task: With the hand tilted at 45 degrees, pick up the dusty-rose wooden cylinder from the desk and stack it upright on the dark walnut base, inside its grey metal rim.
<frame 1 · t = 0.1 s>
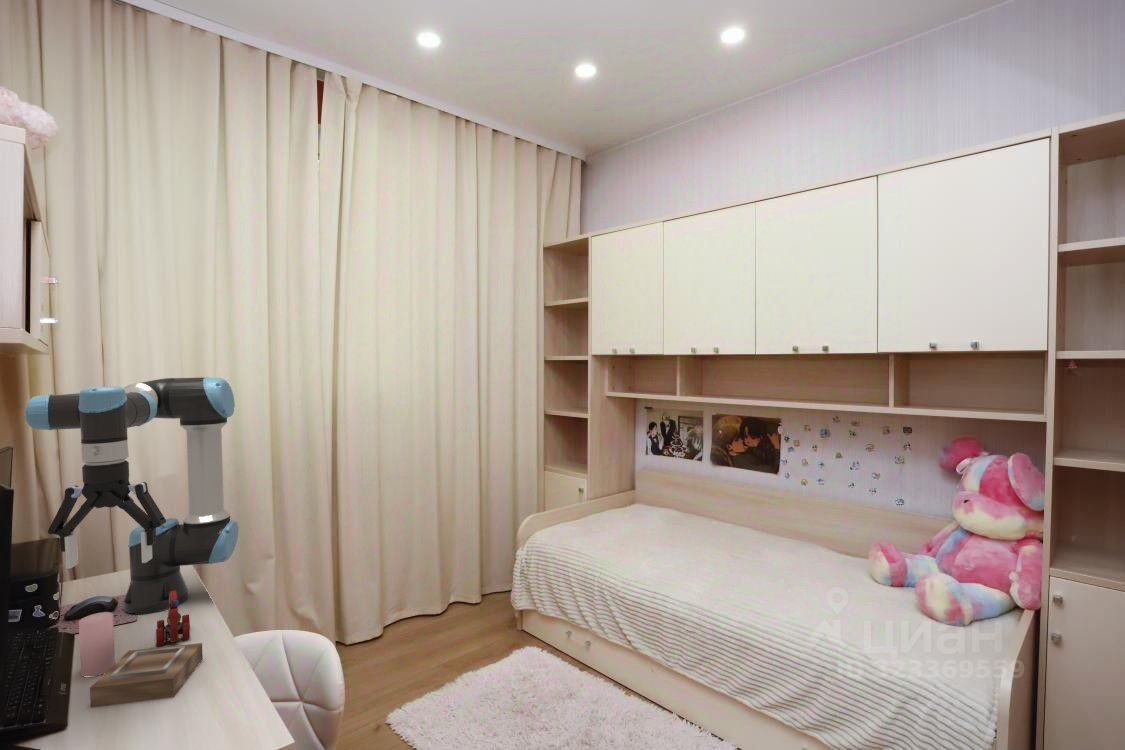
hand: (110, 563, 119), 28 cm above the table, tool pointing down, fingers open, 13 cm apart
toy fire truck: (173, 638, 145), on the table
walnut base: (150, 681, 125), on the table
rose cylinder: (98, 670, 130), on the table
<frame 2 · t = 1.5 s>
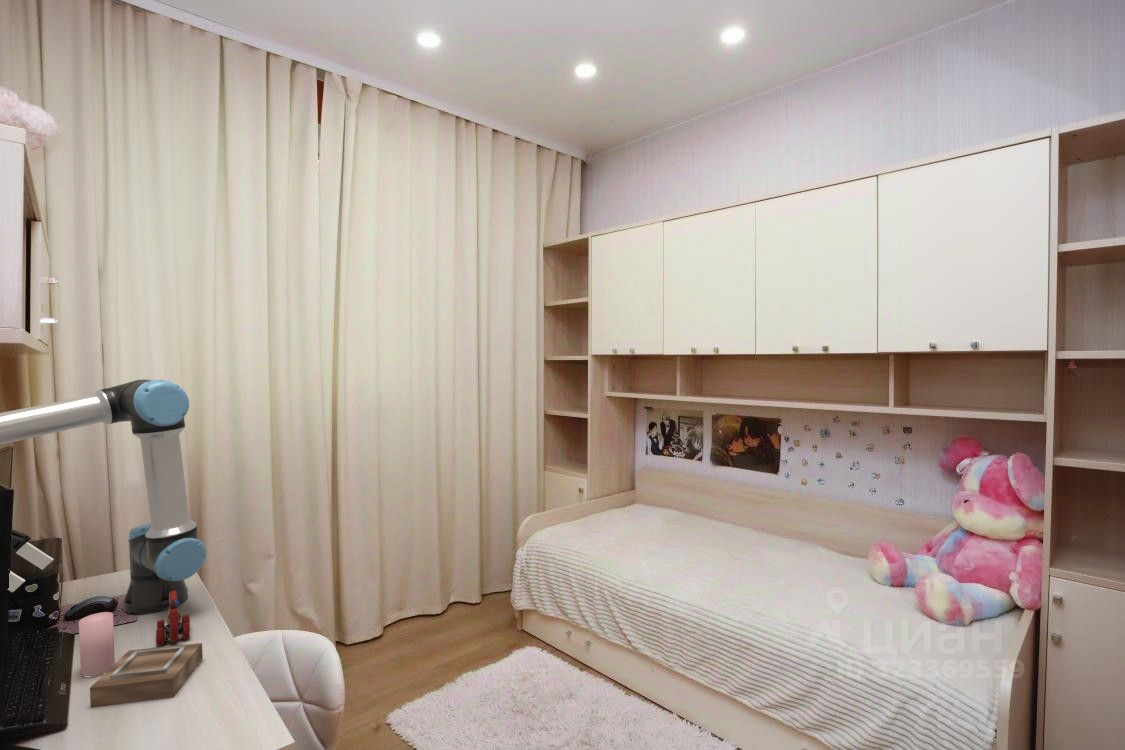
hand: (34, 575, 125), 23 cm above the table, tool tilted 45°, fingers open, 13 cm apart
nothing on the table moved.
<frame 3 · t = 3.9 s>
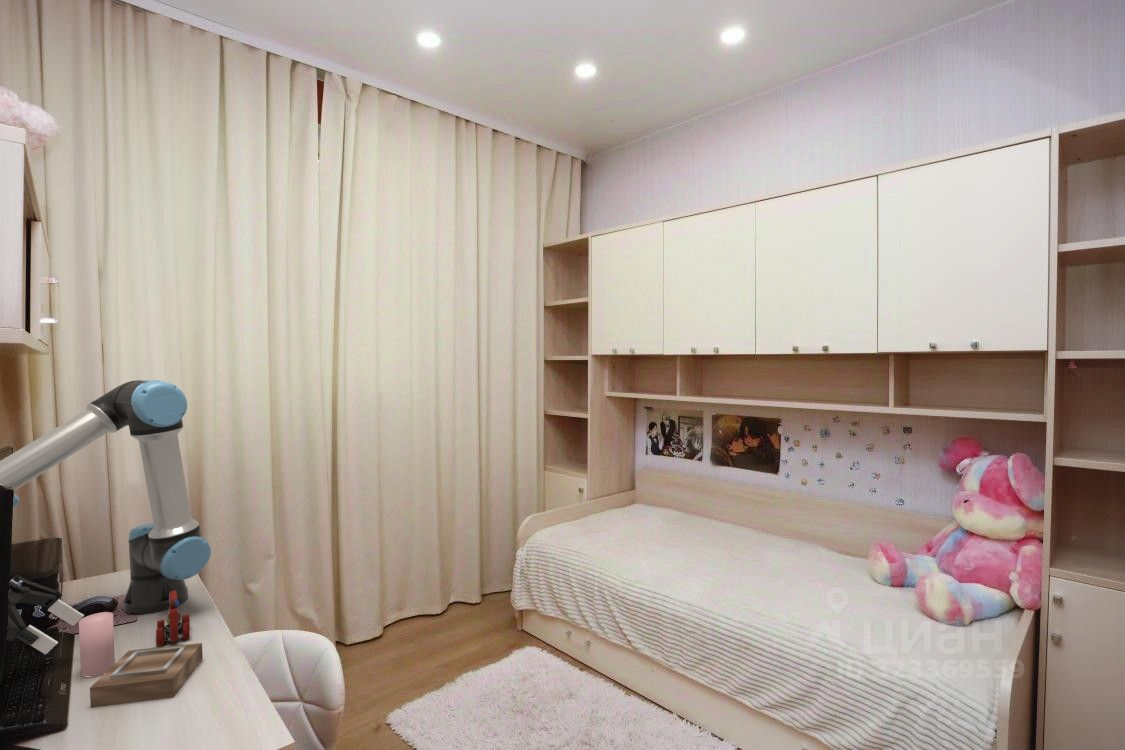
hand: (66, 634, 127), 10 cm above the table, tool tilted 45°, fingers open, 13 cm apart
nothing on the table moved.
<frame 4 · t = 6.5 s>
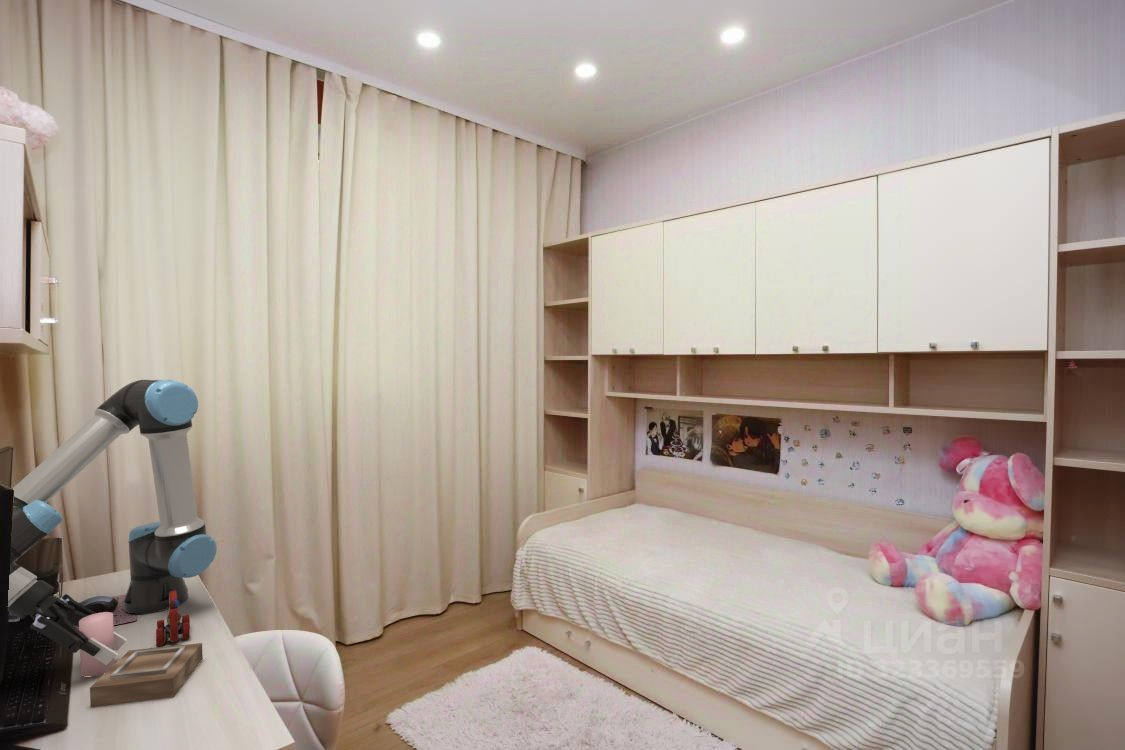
hand: (117, 652, 131), 3 cm above the table, tool tilted 45°, fingers closed on rose cylinder, 6 cm apart
rose cylinder: (98, 670, 130), on the table, touching gripper
everything else where it was.
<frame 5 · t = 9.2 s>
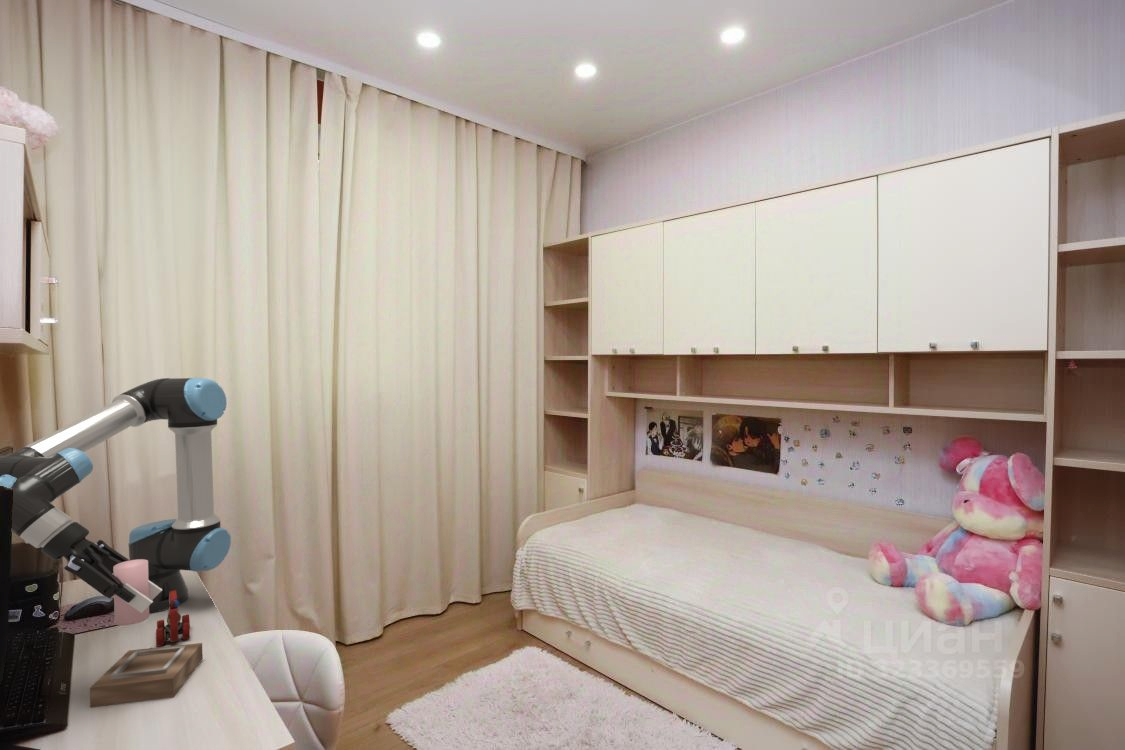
hand: (152, 600, 125), 17 cm above the table, tool tilted 45°, fingers closed on rose cylinder, 6 cm apart
rose cylinder: (132, 619, 124), point 14 cm above the table, touching gripper
everything else where it was.
when the fingers open (9 cm above the table, at t = 12.0 s): rose cylinder drops 2 cm, resting on walnut base.
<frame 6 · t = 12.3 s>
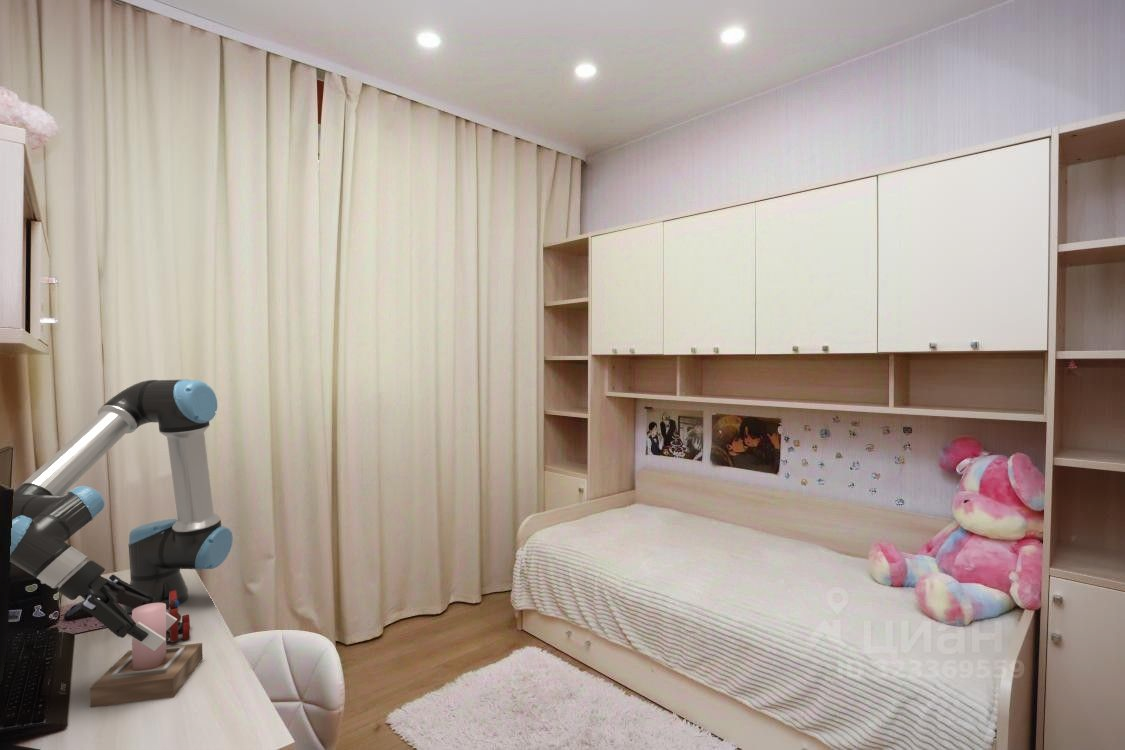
hand: (166, 634, 126), 10 cm above the table, tool tilted 45°, fingers open, 9 cm apart
rose cylinder: (149, 663, 125), point 4 cm above the table, touching walnut base
everything else where it was.
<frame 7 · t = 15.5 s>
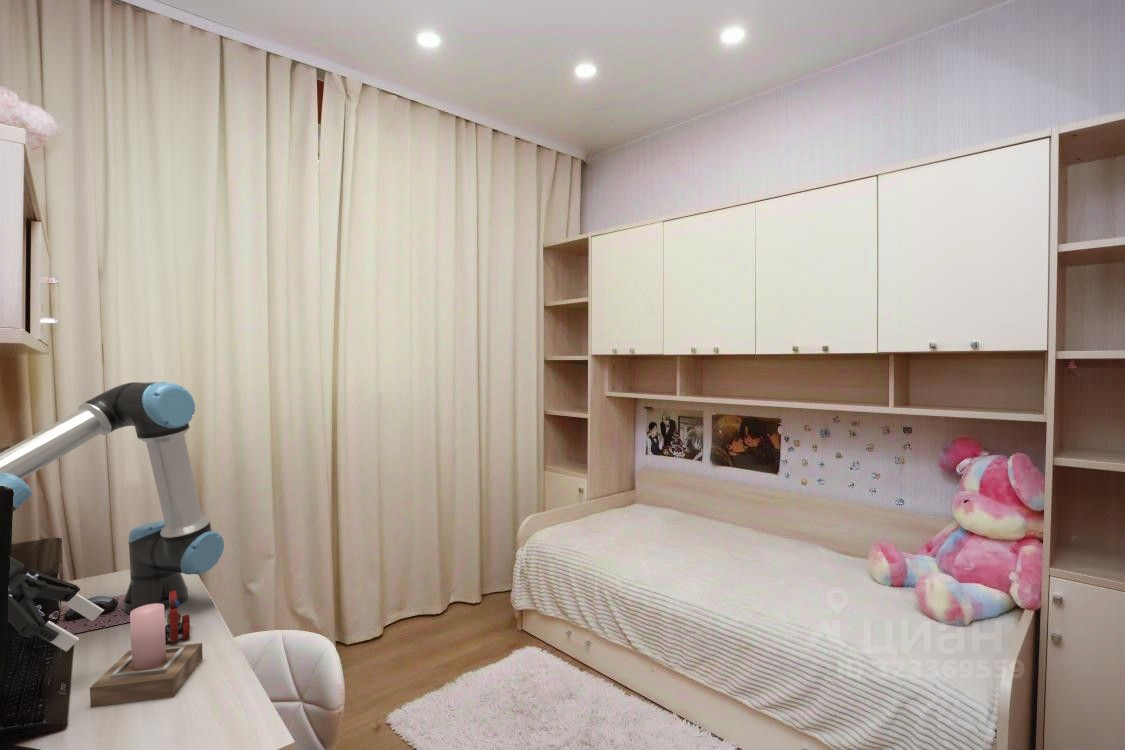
hand: (86, 629, 120), 14 cm above the table, tool tilted 45°, fingers open, 13 cm apart
nothing on the table moved.
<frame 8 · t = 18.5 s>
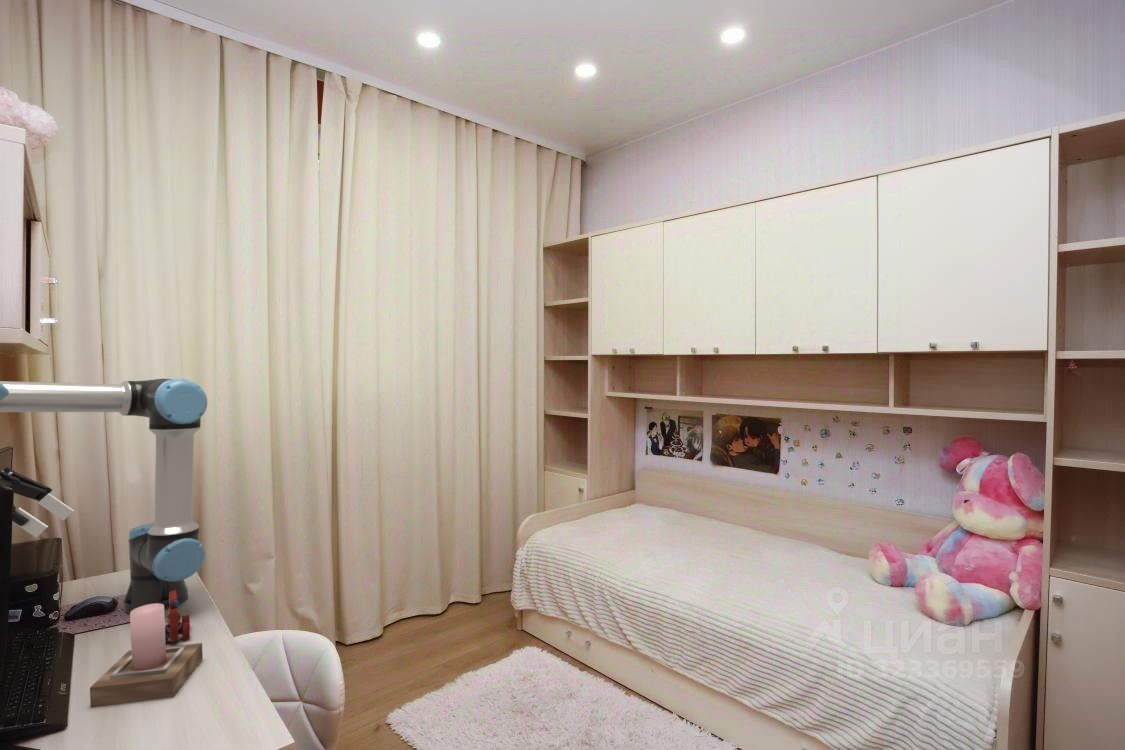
hand: (56, 523, 128), 34 cm above the table, tool tilted 45°, fingers open, 13 cm apart
nothing on the table moved.
at the end: rose cylinder 0.1 cm off-centre on the walnut base, point 4.0 cm above the walnut base's base; rose cylinder tilted 0°; the gripper is holding nothing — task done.
